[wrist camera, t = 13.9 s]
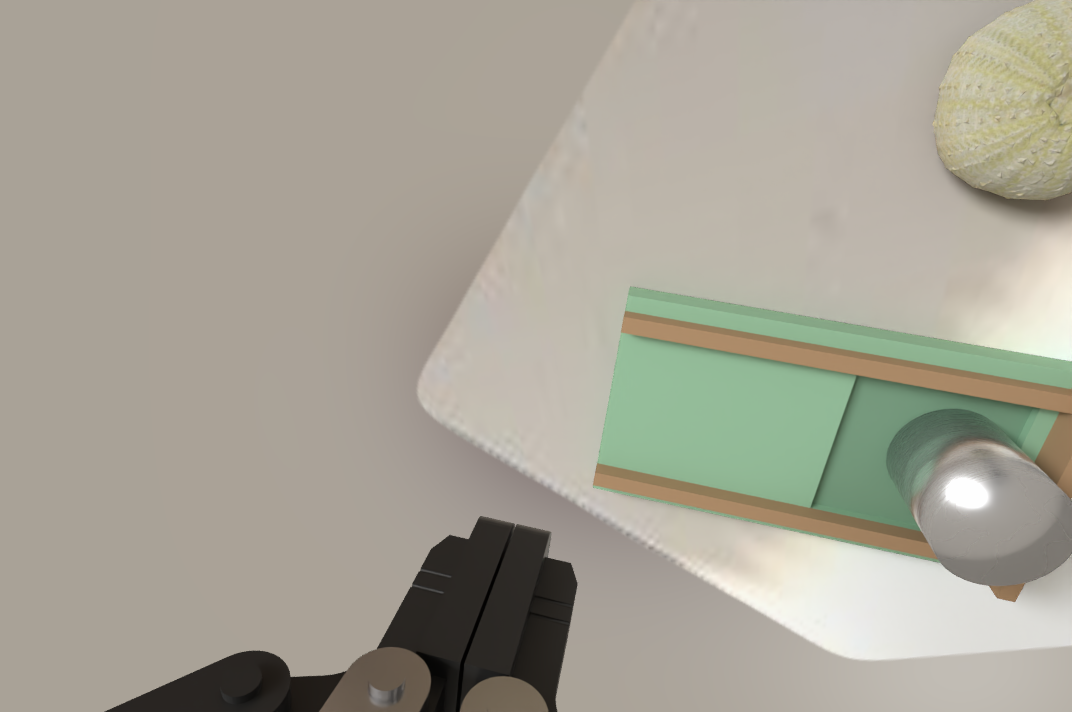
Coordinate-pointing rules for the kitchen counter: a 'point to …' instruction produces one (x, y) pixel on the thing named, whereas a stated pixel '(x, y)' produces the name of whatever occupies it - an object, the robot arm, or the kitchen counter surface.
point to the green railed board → (805, 415)
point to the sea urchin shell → (1011, 104)
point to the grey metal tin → (980, 499)
